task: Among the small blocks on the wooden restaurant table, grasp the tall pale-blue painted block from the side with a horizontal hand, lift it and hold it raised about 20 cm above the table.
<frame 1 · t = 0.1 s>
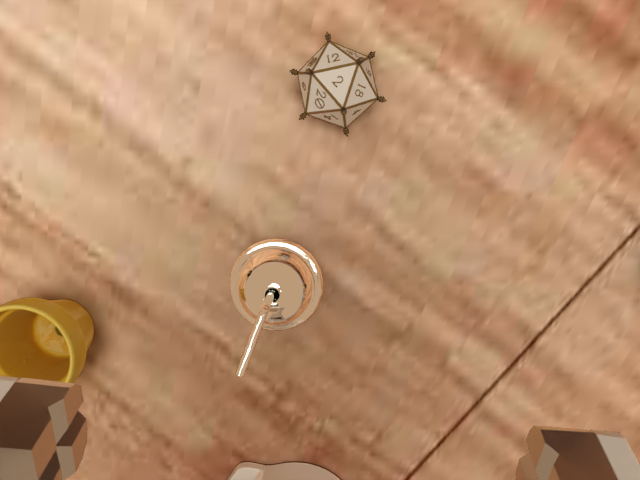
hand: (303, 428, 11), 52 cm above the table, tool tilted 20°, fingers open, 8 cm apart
cup with straw: (283, 265, 64), on the table
game die: (337, 89, 61), on the table
plant pot: (65, 326, 65), on the table
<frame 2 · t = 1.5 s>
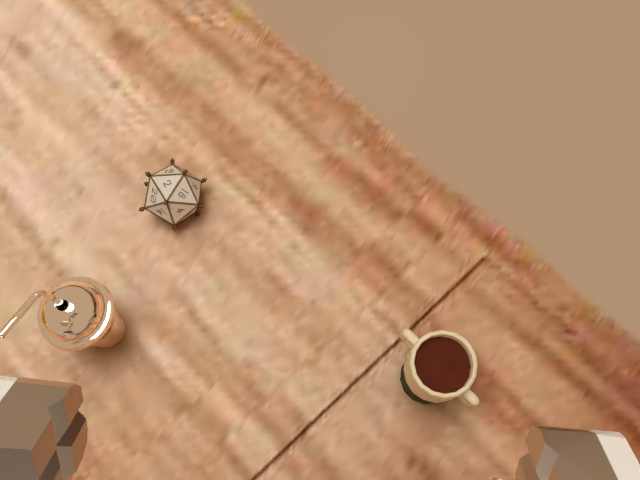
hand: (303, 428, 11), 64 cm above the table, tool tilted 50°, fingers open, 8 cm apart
cup with straw: (106, 331, 76), on the table
game die: (180, 206, 82), on the table
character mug: (424, 378, 74), on the table
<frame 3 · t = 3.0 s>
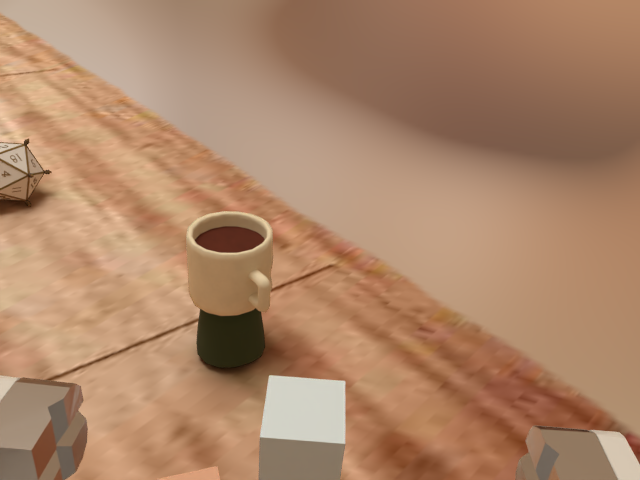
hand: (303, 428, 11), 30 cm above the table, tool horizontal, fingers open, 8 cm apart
game die: (15, 201, 76), on the table
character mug: (231, 351, 55), on the table
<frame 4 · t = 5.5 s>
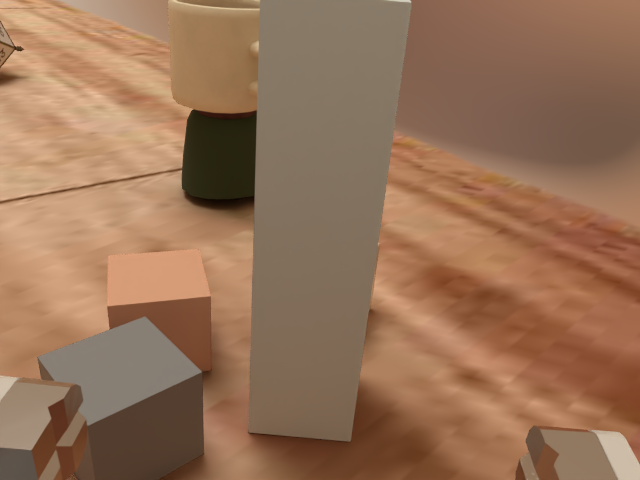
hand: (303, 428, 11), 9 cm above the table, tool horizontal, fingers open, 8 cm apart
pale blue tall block: (303, 400, 25), on the table
charcoal cube: (128, 448, 22), on the table
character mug: (225, 194, 43), on the table
terracotta cube: (161, 349, 27), on the table
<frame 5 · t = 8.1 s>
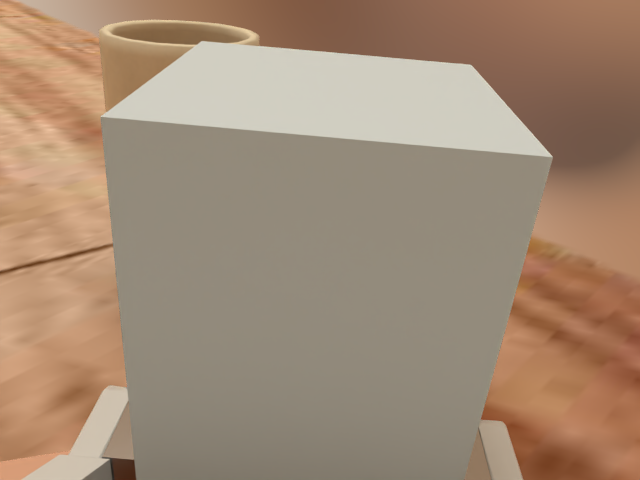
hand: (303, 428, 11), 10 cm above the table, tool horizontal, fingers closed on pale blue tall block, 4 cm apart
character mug: (189, 279, 33), on the table
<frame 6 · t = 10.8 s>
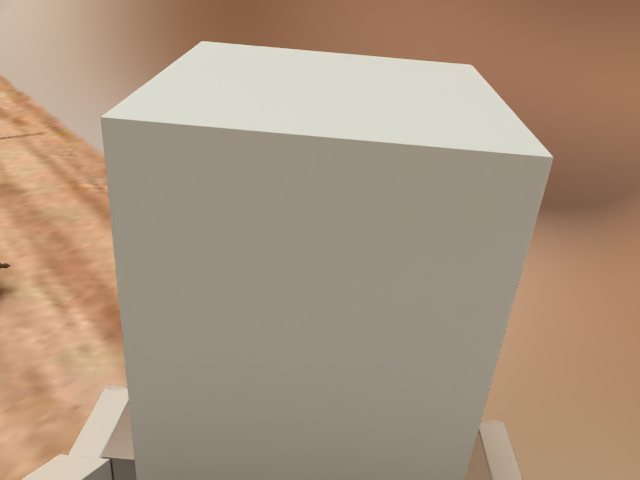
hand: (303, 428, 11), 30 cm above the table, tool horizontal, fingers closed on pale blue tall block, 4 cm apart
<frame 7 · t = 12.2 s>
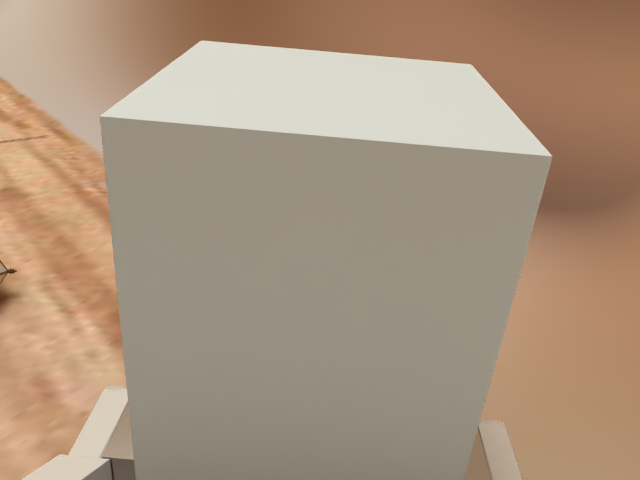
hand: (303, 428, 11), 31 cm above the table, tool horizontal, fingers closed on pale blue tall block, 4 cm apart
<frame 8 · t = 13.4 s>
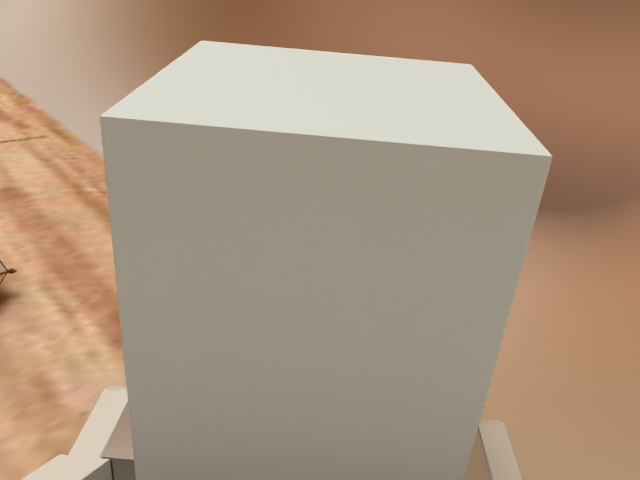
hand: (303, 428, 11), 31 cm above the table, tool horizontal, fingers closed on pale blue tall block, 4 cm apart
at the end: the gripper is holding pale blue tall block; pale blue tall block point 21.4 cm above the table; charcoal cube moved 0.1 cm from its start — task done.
